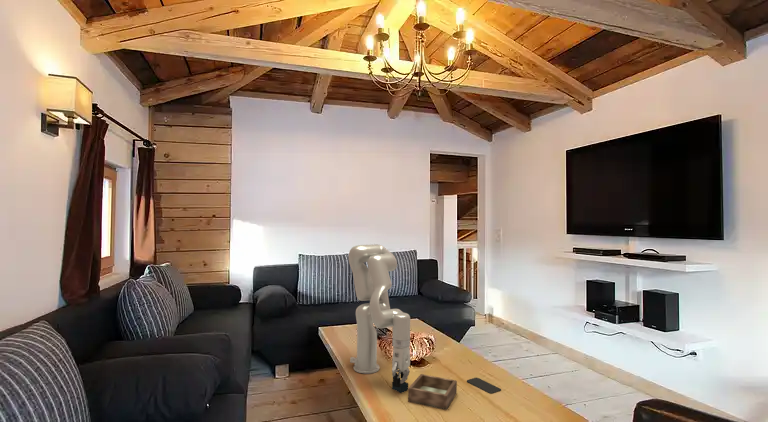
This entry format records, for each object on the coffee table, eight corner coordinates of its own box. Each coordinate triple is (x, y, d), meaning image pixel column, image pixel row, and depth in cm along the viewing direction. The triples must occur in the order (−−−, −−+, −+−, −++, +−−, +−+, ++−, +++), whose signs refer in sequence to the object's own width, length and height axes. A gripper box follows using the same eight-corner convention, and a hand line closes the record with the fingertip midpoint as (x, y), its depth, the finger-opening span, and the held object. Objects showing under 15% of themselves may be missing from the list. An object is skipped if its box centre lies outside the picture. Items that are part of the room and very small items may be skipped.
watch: (411, 389, 180) (411, 363, 180) (397, 394, 174) (398, 368, 174) (402, 384, 184) (402, 360, 184) (388, 389, 178) (389, 364, 178)
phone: (490, 393, 176) (465, 380, 189) (490, 395, 176) (465, 382, 189) (502, 389, 180) (476, 377, 193) (502, 391, 180) (476, 378, 193)
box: (408, 401, 168) (408, 388, 168) (420, 386, 183) (420, 373, 183) (446, 410, 162) (446, 396, 162) (456, 393, 176) (456, 380, 176)
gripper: (401, 349, 169) (401, 392, 170) (416, 337, 185) (415, 376, 186) (385, 347, 172) (384, 388, 173) (400, 335, 188) (399, 373, 189)
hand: (400, 382), depth 179 cm, fingers closed on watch, 8 cm apart
